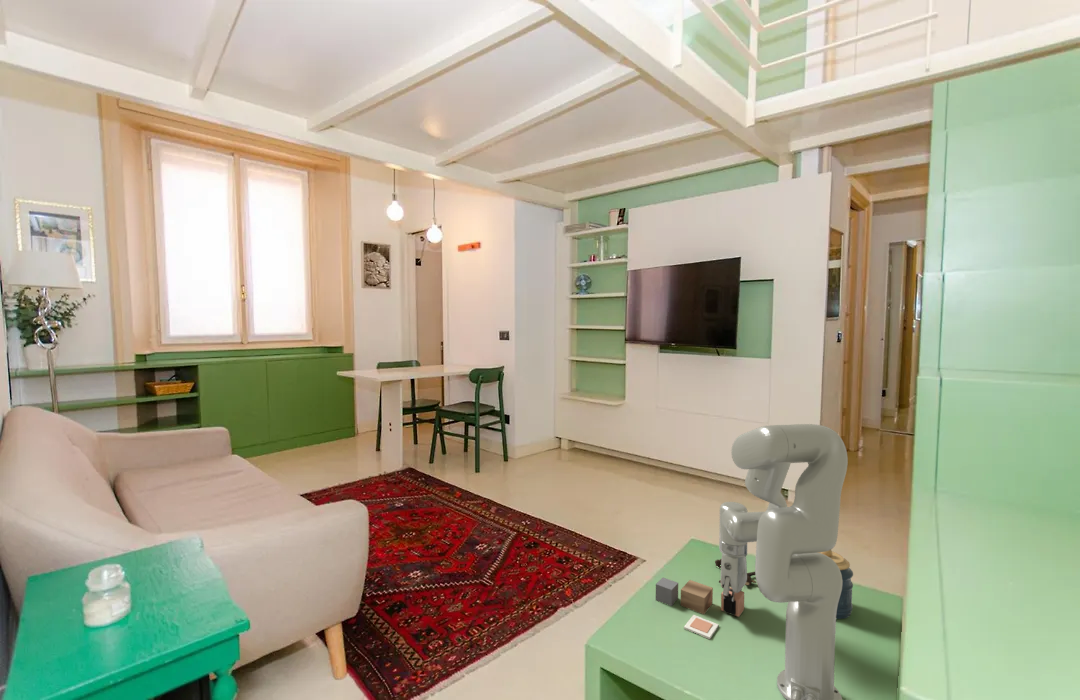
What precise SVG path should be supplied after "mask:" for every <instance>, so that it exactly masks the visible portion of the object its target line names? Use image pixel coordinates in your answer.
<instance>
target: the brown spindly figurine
mask: <svg viewBox="0 0 1080 700" xmlns="http://www.w3.org/2000/svg"><path fill="white" fill-rule="evenodd" d="M721 560H722V558H720V559H716V560H715V561H714V562H715V567H716V566H718V567H719V568H721V566H720V565H721ZM719 568H718V569H719ZM753 576H756V575H755V571H752V572H751V571H750V572H747V581H746V583H745V585H744V586H751V585H752V584H757V581H756V580H754V579H752V577H753ZM718 583H719V584H721V579H720V580H718Z"/></svg>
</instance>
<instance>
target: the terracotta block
mask: <svg viewBox="0 0 1080 700" xmlns="http://www.w3.org/2000/svg"><path fill="white" fill-rule="evenodd" d="M730 588H731V587H730ZM731 589H732V588H731ZM729 594H731V595H732V592H731V591H729ZM720 596H721V597H720V611H722V612H724V598H723V597H724V595H723V591H722V592H721V594H720ZM735 601H736V614H735V615H734V616H736V617H738V618H739V617H740V616H741V615H742V613H743V612H744V610H745V591H744V590H742V591H740V592H738V593H736V592H735Z"/></svg>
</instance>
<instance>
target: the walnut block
mask: <svg viewBox="0 0 1080 700" xmlns="http://www.w3.org/2000/svg"><path fill="white" fill-rule="evenodd" d="M713 588H714V587H712V586H709V585H706V584H703V583H700V582H697V581H696V580H695V581H694V580H691V579H688V581H687V582H686V583H685V584H684V586H683V587H682V588H680V606H681V607H683V608H686V609H688V608H689V610H691V611H693V610H694V612H697V613H700V614H702V615H706V613H707V612H708V610H709V609H710V608H711V607H712V605H713V604H712V603H714V602H713V600H714V599H713V595H714V592H713V591H714V589H713Z"/></svg>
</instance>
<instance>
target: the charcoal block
mask: <svg viewBox="0 0 1080 700" xmlns="http://www.w3.org/2000/svg"><path fill="white" fill-rule="evenodd" d="M678 600H679V582H677V581H675V580H671V579H669V578H665V577H661V578H660V579H659V580H658V582H656V583H655V601H657V602H659V601H660V603H662V602H663V604H664V603H666V604H665V605H667V604H668V606H670V607H672V606H673V605H674V604H675V603H676V602H677V601H678ZM675 601H676V602H675ZM674 602H675V603H674Z"/></svg>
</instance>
